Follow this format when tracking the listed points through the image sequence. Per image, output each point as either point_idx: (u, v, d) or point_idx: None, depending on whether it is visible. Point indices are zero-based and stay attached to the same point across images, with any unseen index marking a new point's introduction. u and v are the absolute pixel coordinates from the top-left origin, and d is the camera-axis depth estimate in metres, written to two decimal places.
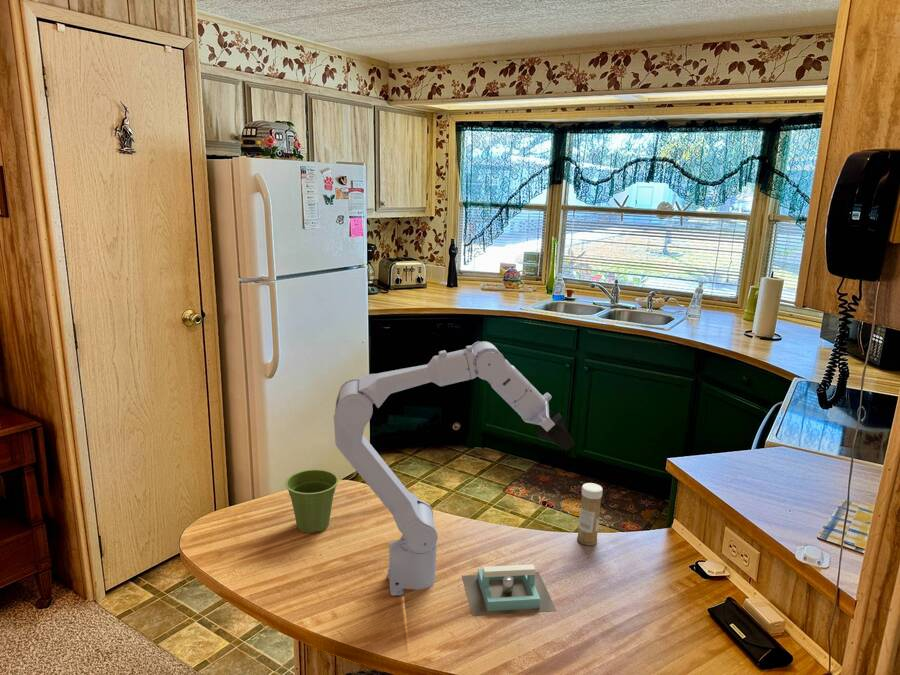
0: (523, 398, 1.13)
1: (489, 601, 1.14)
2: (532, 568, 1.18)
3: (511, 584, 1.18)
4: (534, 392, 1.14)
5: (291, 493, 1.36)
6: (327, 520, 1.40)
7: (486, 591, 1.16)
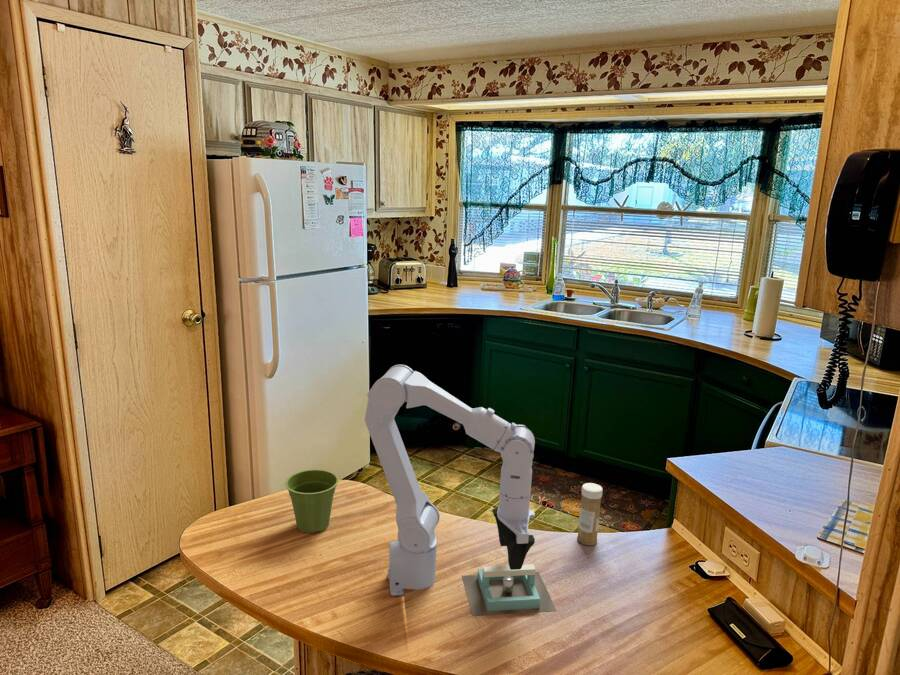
0: (518, 500, 1.12)
1: (489, 601, 1.14)
2: (532, 568, 1.18)
3: (511, 584, 1.18)
4: (528, 502, 1.13)
5: (291, 493, 1.36)
6: (327, 520, 1.40)
7: (486, 591, 1.16)
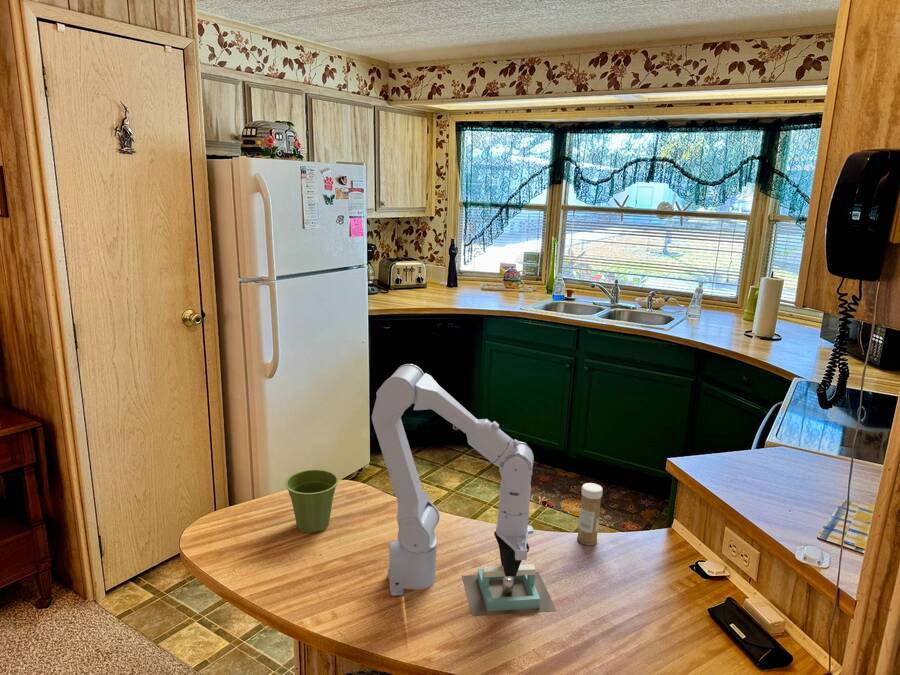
0: (517, 517, 1.13)
1: (489, 601, 1.14)
2: (532, 568, 1.18)
3: (511, 584, 1.18)
4: (527, 519, 1.14)
5: (291, 493, 1.36)
6: (327, 520, 1.40)
7: (486, 591, 1.16)
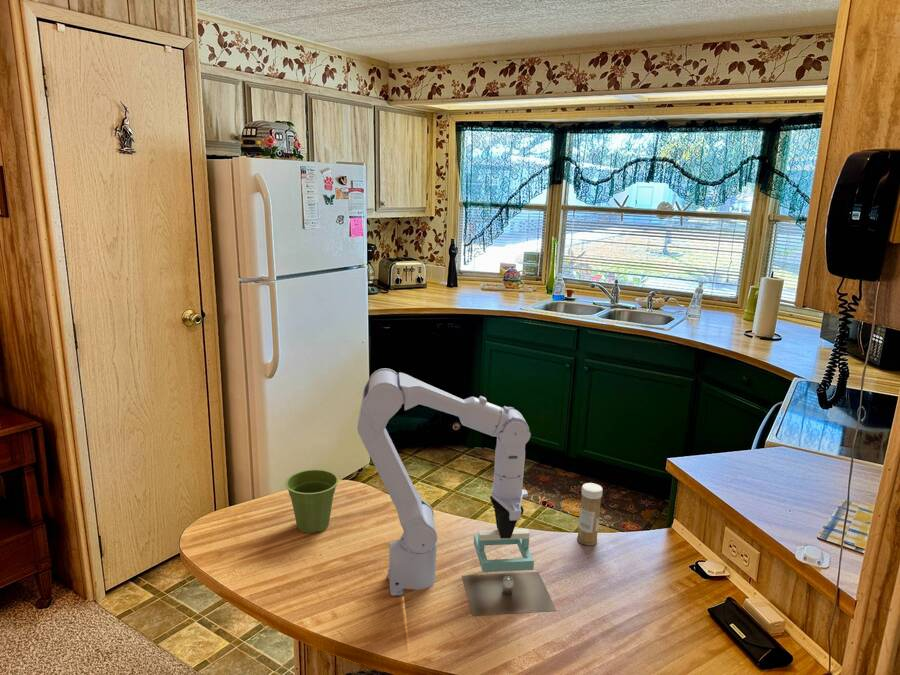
0: (512, 479, 1.17)
1: (484, 562, 1.18)
2: (526, 532, 1.22)
3: (511, 584, 1.18)
4: (521, 482, 1.18)
5: (291, 493, 1.36)
6: (327, 520, 1.40)
7: (481, 554, 1.20)
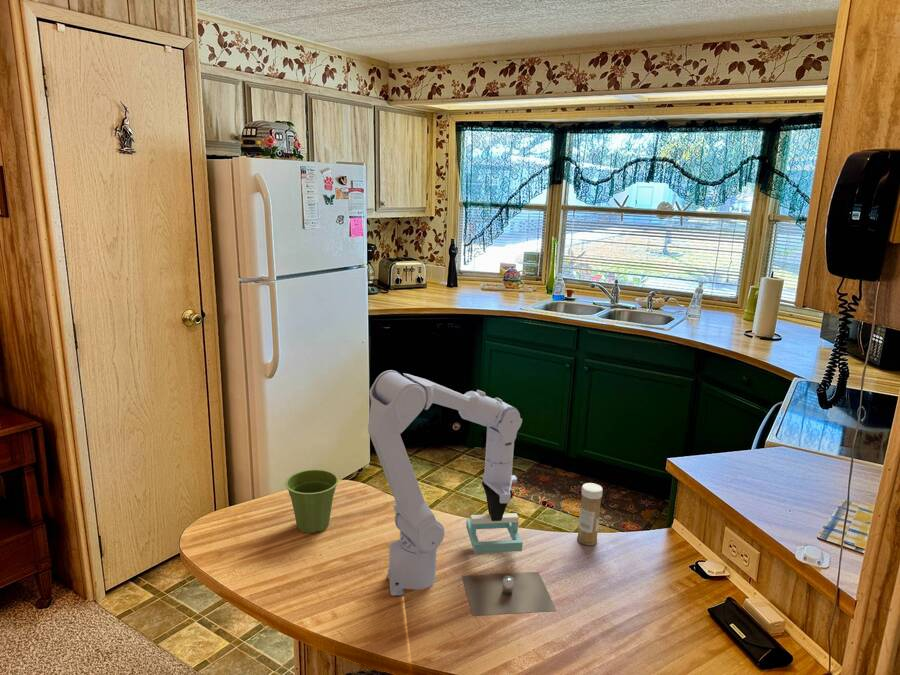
0: (502, 465, 1.25)
1: (476, 544, 1.26)
2: (515, 516, 1.30)
3: (511, 584, 1.18)
4: (511, 468, 1.26)
5: (291, 493, 1.36)
6: (327, 520, 1.40)
7: (473, 536, 1.29)
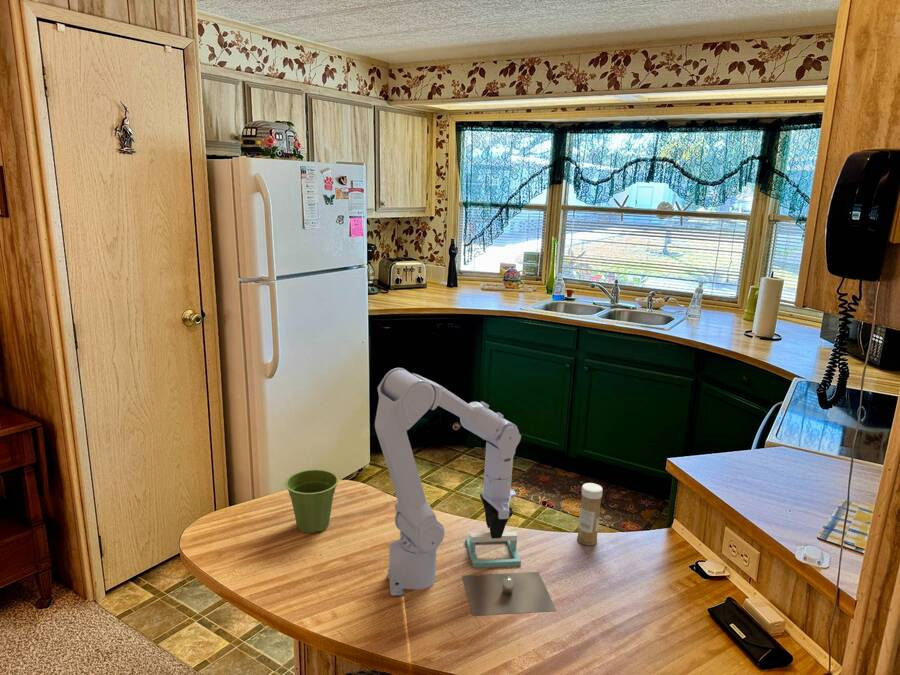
0: (501, 481, 1.25)
1: (475, 563, 1.27)
2: (514, 535, 1.31)
3: (511, 584, 1.18)
4: (509, 483, 1.27)
5: (291, 493, 1.36)
6: (327, 520, 1.40)
7: (472, 554, 1.30)
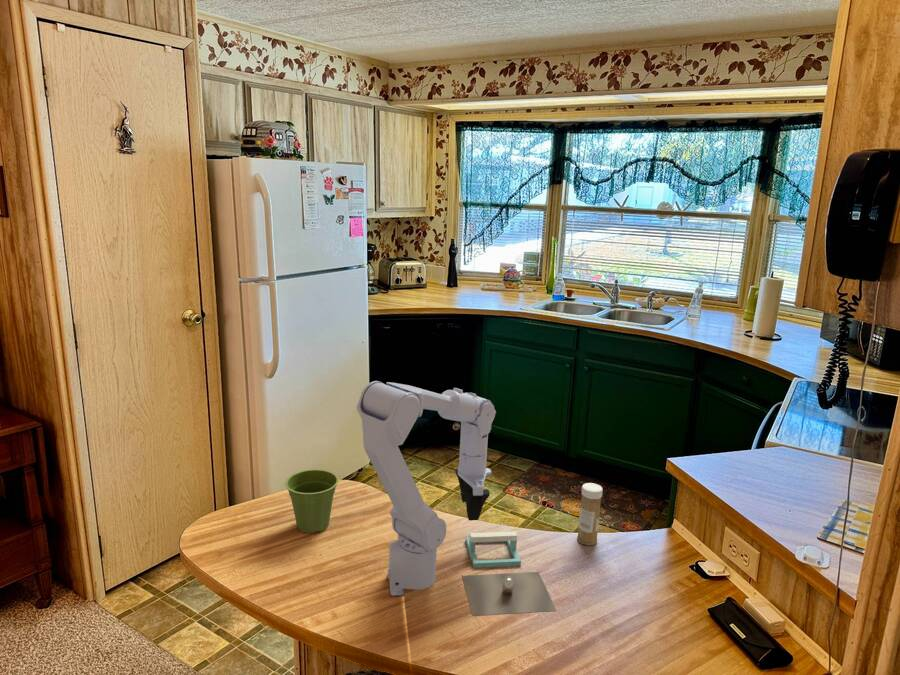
0: (475, 458, 1.26)
1: (475, 563, 1.27)
2: (514, 534, 1.31)
3: (511, 584, 1.18)
4: (484, 461, 1.28)
5: (291, 493, 1.36)
6: (327, 520, 1.40)
7: (472, 554, 1.30)
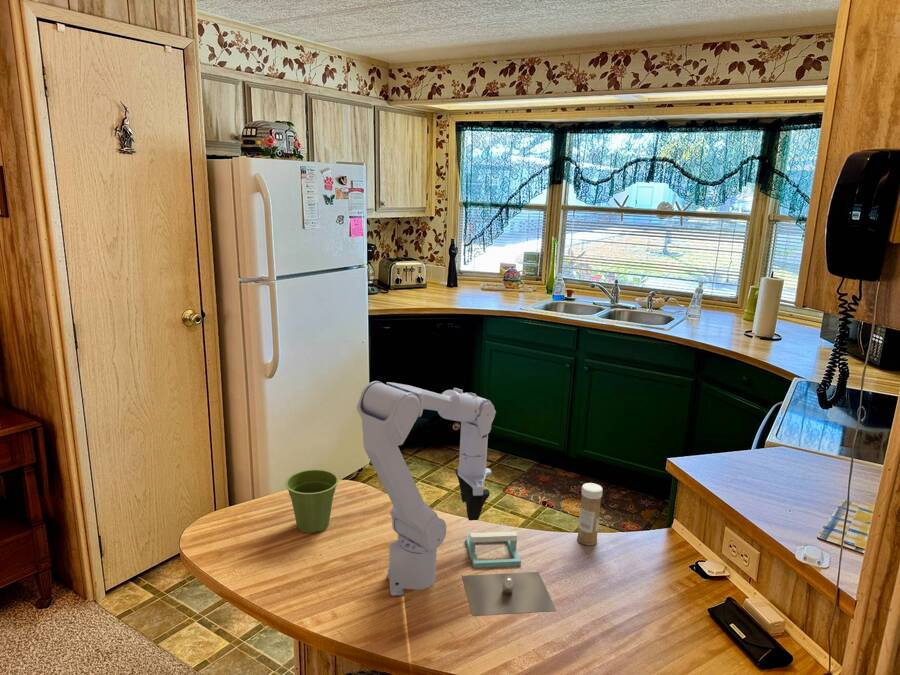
0: (475, 458, 1.26)
1: (475, 563, 1.27)
2: (514, 534, 1.31)
3: (511, 584, 1.18)
4: (484, 461, 1.28)
5: (291, 493, 1.36)
6: (327, 520, 1.40)
7: (472, 554, 1.30)
